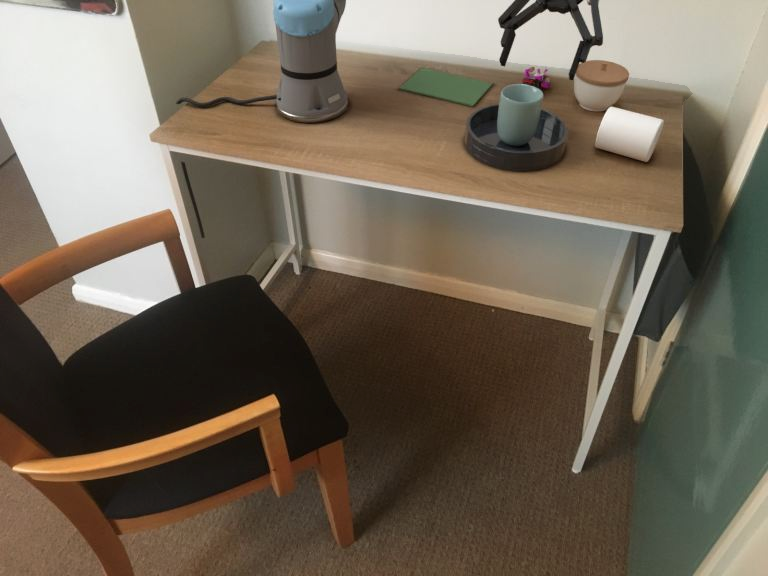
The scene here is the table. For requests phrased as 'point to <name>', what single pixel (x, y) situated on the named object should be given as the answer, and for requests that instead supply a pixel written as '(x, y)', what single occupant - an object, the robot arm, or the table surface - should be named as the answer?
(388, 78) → the table surface
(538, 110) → the cup
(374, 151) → the table surface
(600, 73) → the trinket box
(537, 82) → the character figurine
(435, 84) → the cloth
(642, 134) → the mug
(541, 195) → the table surface
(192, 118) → the table surface
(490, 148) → the shallow round tray
